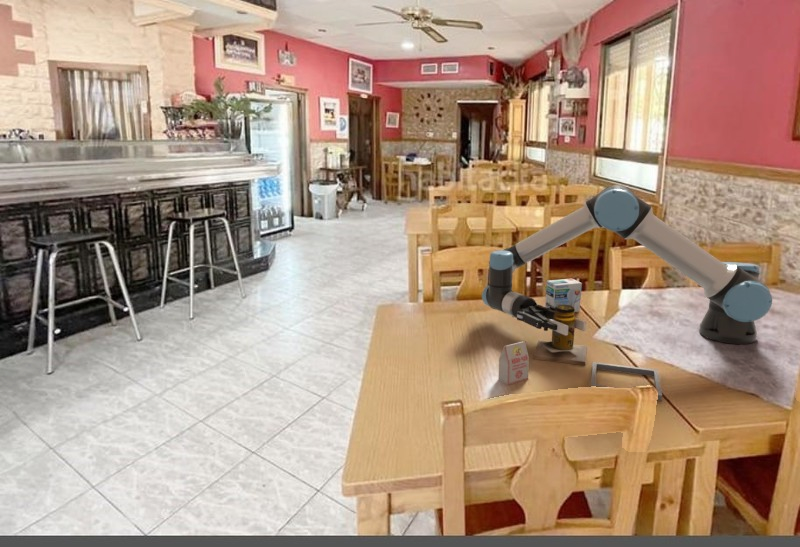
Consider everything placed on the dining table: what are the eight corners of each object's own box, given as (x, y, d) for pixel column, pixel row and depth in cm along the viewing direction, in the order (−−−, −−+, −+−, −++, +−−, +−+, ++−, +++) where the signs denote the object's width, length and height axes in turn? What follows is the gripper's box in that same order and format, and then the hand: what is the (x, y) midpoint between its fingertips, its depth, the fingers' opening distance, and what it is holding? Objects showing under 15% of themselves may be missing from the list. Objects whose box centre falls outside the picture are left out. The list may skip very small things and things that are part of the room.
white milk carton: (498, 379, 141) (499, 343, 138) (518, 374, 144) (520, 338, 141) (507, 385, 137) (508, 348, 135) (528, 379, 140) (529, 343, 138)
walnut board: (586, 349, 159) (587, 346, 158) (584, 365, 148) (585, 361, 148) (538, 343, 164) (538, 340, 163) (532, 358, 153) (533, 355, 153)
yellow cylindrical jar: (579, 350, 152) (582, 309, 149) (552, 353, 150) (554, 312, 147) (566, 340, 159) (568, 301, 156) (539, 343, 157) (541, 304, 154)
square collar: (657, 375, 141) (657, 369, 141) (661, 401, 128) (662, 395, 127) (592, 366, 147) (592, 361, 146) (590, 391, 133) (590, 385, 133)
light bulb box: (553, 314, 189) (555, 285, 187) (544, 308, 196) (545, 280, 193) (580, 311, 192) (582, 282, 189) (570, 306, 198) (572, 277, 196)
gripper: (542, 312, 174) (599, 334, 154) (495, 323, 165) (549, 348, 146) (543, 290, 172) (601, 309, 153) (496, 299, 163) (551, 321, 144)
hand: (575, 328), depth 149 cm, fingers closed on yellow cylindrical jar, 6 cm apart
